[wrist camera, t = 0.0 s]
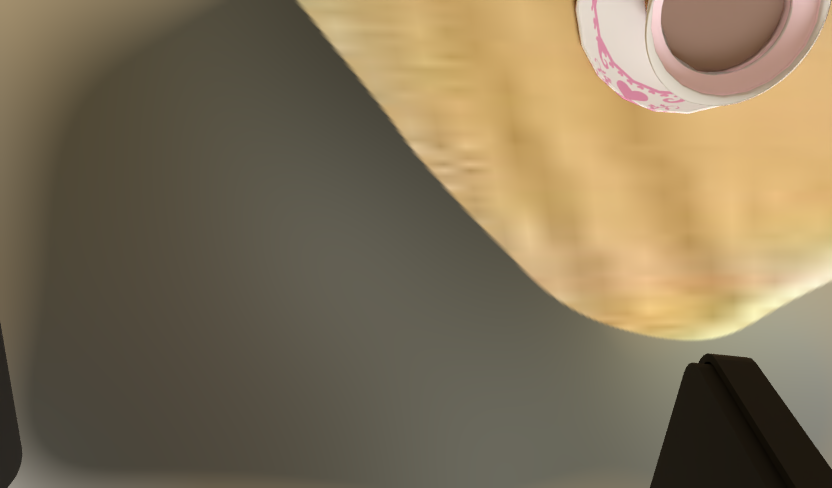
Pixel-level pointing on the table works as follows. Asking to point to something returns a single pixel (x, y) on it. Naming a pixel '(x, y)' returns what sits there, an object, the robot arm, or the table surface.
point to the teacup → (696, 48)
